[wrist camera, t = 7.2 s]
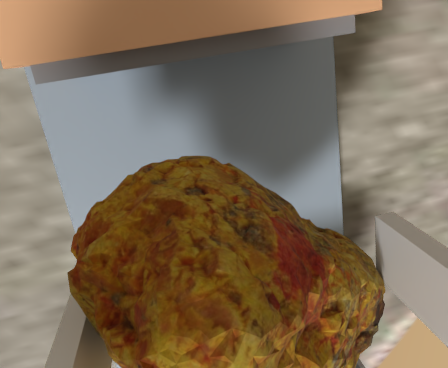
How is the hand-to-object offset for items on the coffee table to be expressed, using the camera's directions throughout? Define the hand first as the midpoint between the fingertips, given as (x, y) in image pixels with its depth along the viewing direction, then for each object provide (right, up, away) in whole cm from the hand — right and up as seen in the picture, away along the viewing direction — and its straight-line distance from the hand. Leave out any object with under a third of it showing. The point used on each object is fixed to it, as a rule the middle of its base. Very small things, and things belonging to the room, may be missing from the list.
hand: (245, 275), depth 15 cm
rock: (-1, 0, +2) cm, 2 cm away
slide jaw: (-3, +11, +4) cm, 12 cm away
